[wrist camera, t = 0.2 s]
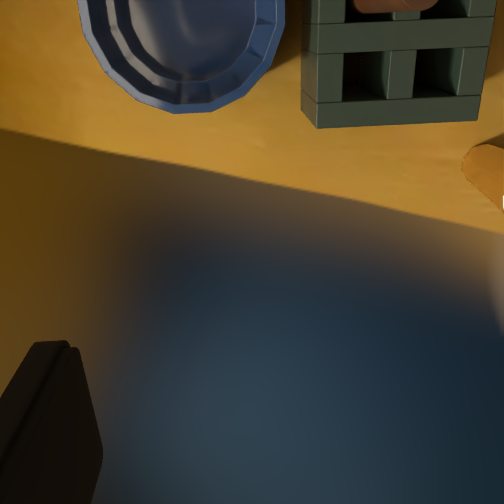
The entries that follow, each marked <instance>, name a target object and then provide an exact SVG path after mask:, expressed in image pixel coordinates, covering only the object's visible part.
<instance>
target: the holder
mask: <svg viewBox="0 0 504 504" xmlns="http://www.w3.org/2000/svg"><path fill="white" fill-rule="evenodd" d="M496 4H497V0H438V1H437V3H436V4H435V5H433V6H432V7H430V8H429V9H426V10H425V15H424V17H425V18H420V14H421V11H406V12H386V13H365V14H363V20H364V21H345V11H346V0H301V23H302V24H301V111H302V112H303V113H304V114H305V115H306V117H307V118H308V119H309V120H310V121H311V123H312V124H313V125H314V126H315V128H317V129H322V128H342V127H361V126H381V125H401V124H421V123H441V122H461V121H476V120H477V119H478V113H479V107H480V101H481V95H480V94H482V89H483V83H484V77H485V71H486V65H487V59H488V52H489V46H490V42H491V36H492V30H493V24H494V18H495V17H494V15H495V10H496ZM416 49H421V53H420V62H419V71H418V81H417V82H418V83H414V74H415V65H416V55H417V50H416ZM351 52H361V62H360V80H359V85H360V86H345V87H343V62H344V53H351Z"/></svg>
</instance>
